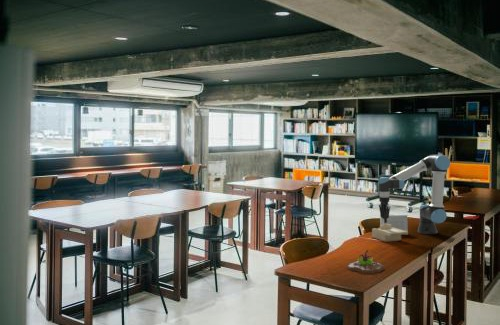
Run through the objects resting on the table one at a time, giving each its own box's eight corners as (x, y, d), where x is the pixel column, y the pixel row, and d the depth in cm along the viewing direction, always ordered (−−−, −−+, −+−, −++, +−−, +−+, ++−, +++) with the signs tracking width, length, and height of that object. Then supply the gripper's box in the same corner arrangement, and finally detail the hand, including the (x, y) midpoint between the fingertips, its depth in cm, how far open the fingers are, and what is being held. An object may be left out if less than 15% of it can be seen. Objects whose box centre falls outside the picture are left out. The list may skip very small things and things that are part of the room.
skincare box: (406, 233, 375) (406, 214, 375) (408, 234, 370) (407, 215, 369) (380, 233, 377) (379, 214, 377) (381, 234, 372) (381, 215, 371)
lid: (393, 230, 360) (393, 223, 360) (407, 234, 343) (407, 227, 343) (376, 231, 356) (376, 225, 355) (389, 236, 339) (389, 229, 338)
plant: (389, 268, 274) (389, 250, 274) (371, 275, 261) (370, 256, 261) (362, 262, 289) (361, 245, 289) (342, 269, 276) (342, 250, 276)
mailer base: (387, 235, 367) (387, 227, 367) (401, 240, 350) (400, 231, 350) (372, 237, 363) (372, 228, 363) (385, 241, 346) (385, 232, 346)
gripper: (375, 196, 362) (375, 225, 363) (384, 198, 350) (385, 228, 351) (383, 195, 364) (384, 224, 365) (393, 197, 352) (393, 227, 353)
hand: (384, 226), depth 358 cm, fingers closed
